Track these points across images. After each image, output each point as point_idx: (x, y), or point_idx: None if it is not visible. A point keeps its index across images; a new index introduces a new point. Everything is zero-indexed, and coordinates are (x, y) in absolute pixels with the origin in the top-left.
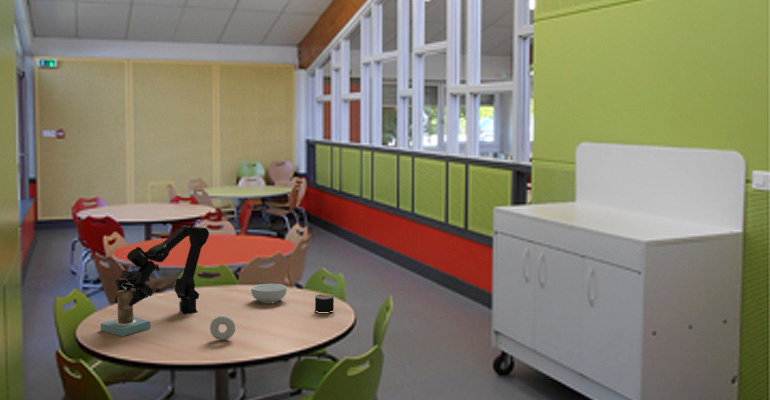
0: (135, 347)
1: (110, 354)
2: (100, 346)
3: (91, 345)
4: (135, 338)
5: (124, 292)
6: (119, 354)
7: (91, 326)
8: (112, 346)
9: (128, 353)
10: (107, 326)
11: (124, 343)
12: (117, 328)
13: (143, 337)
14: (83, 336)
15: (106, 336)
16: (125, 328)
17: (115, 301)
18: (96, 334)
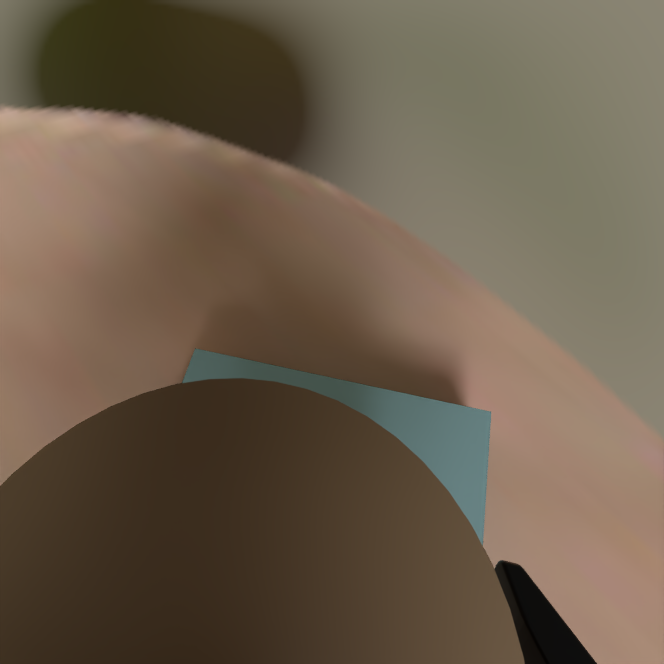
0: (6, 232)
1: (92, 118)
2: (221, 181)
3: (282, 177)
4: (92, 368)
5: (113, 513)
6: (45, 131)
7: (638, 488)
8: (154, 202)
9: (3, 153)
10: (389, 392)
11: (112, 263)
12: (254, 362)
13: (41, 410)
14: (461, 275)
15: (321, 329)
16: (183, 382)
17: (502, 566)
18: (420, 338)
